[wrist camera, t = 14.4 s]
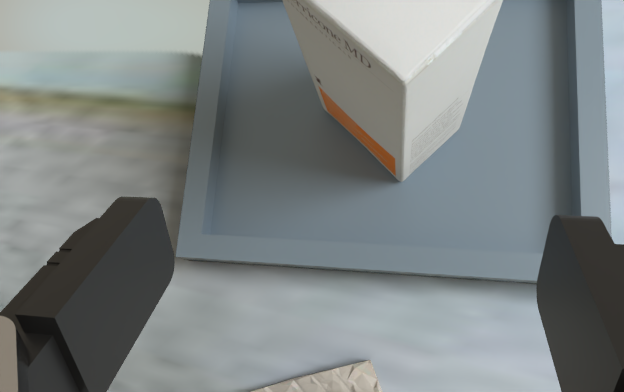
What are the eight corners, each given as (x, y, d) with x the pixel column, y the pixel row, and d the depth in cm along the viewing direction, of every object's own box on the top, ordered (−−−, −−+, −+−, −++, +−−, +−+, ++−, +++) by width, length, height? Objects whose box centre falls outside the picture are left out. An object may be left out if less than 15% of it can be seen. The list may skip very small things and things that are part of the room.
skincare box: (320, 110, 27) (260, -40, 16) (378, 55, 27) (361, -133, 16) (402, 188, 26) (403, 86, 14) (463, 130, 26) (514, -19, 14)
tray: (189, 260, 27) (175, 256, 25) (224, -9, 31) (213, -28, 29) (598, 287, 24) (613, 285, 22) (586, -21, 27) (599, -44, 25)
